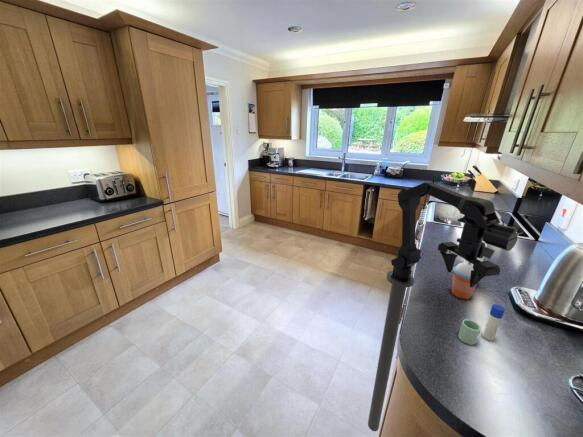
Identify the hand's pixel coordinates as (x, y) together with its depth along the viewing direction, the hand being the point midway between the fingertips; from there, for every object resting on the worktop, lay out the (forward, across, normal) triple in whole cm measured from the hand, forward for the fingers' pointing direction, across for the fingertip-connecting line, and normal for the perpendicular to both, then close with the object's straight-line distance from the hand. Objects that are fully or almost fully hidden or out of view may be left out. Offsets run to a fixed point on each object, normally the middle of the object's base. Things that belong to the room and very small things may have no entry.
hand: (460, 279), depth 84 cm
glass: (+13, -12, +6) cm, 19 cm away
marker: (+13, -13, -1) cm, 18 cm away
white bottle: (+13, +13, -20) cm, 27 cm away
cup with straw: (+13, +7, -11) cm, 19 cm away
